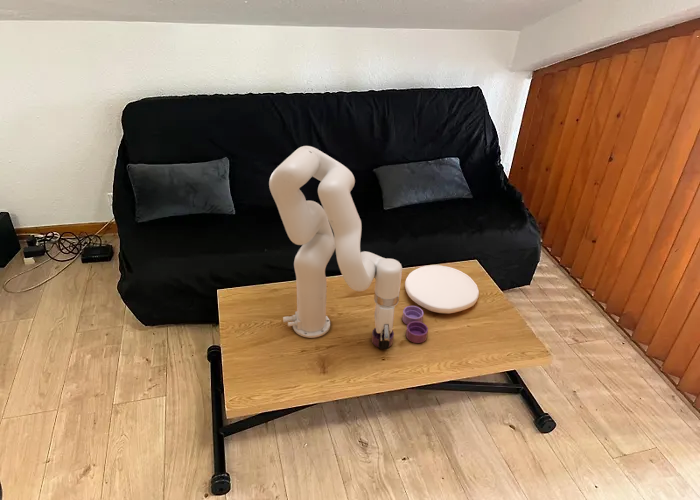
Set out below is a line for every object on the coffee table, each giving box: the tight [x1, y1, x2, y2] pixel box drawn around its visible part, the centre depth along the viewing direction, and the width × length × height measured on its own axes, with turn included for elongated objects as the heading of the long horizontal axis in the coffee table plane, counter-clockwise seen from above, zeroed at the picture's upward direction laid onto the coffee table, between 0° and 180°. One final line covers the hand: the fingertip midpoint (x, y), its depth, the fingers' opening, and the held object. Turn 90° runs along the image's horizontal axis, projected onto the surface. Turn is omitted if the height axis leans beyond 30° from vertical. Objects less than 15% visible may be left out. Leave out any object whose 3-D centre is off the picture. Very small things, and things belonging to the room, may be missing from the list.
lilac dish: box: [401, 305, 425, 326], centre depth 169 cm, size 7×7×4 cm
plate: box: [404, 264, 480, 315], centre depth 182 cm, size 28×6×27 cm
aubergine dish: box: [371, 327, 395, 348], centre depth 160 cm, size 7×7×4 cm
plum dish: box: [405, 321, 429, 344], centre depth 162 cm, size 7×7×4 cm
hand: (382, 339), depth 160 cm, fingers closed on aubergine dish, 7 cm apart
